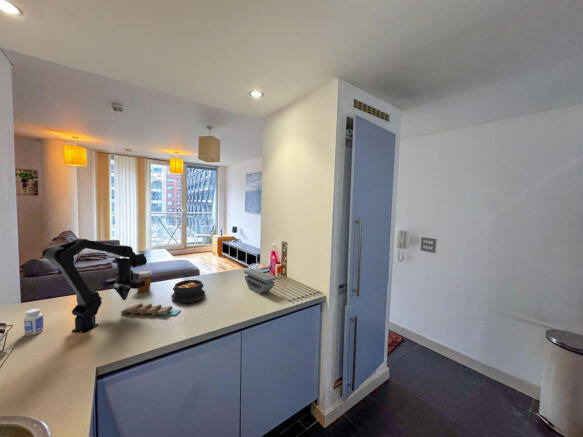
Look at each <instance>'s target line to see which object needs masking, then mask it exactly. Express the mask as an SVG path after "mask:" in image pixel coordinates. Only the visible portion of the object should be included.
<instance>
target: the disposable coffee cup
mask: <svg viewBox="0 0 583 437" xmlns="http://www.w3.org/2000/svg"><path fill="white" fill-rule="evenodd" d="M135 273H138V274H139V279H135V281H136V280H144V281H145V285H144V286H142V287H140V288H138V289H137V292H138V293H144V292H149V291H150V288H151V281H152V275H153V272H152V270H149V269H144V270H143V269H142V270H139V271H136V272H135Z"/></svg>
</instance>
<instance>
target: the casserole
mask: <svg viewBox="0 0 583 437" xmlns="http://www.w3.org/2000/svg"><path fill="white" fill-rule="evenodd" d="M203 288H204V284H203V282H202V281H201V280H198V279H186V280H181V281H178V282H176V283H175V284H174V286H173V287H172V291H173V293H172V294H171V299H173V300H175V301H179V302H182V303H185V304H186V303H193V302H197V301H200V300H203V299H204V297H205V294H206V292H205V290H204V289H203Z"/></svg>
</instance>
